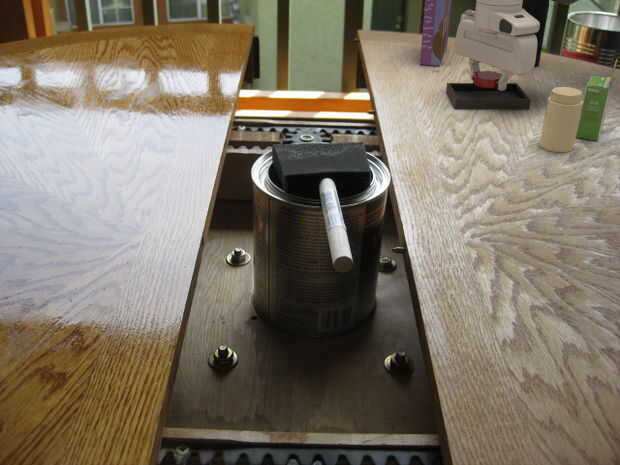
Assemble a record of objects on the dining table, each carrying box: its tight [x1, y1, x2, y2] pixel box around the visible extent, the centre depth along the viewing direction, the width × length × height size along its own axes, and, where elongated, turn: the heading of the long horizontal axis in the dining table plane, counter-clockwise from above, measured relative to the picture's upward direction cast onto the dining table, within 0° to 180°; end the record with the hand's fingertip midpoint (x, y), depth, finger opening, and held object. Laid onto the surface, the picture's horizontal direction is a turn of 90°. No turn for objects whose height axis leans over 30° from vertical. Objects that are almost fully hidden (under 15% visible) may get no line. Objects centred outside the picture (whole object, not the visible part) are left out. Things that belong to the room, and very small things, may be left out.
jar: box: [539, 86, 583, 153], centre depth 115 cm, size 6×6×10 cm
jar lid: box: [472, 70, 502, 88], centre depth 137 cm, size 6×6×2 cm
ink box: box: [576, 58, 618, 141], centre depth 119 cm, size 7×4×13 cm, turn 152°
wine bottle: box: [522, 0, 550, 68], centre depth 157 cm, size 6×6×30 cm
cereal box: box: [419, 0, 453, 67], centre depth 164 cm, size 17×5×24 cm, turn 164°
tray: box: [445, 82, 532, 110], centre depth 139 cm, size 15×11×2 cm
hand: (488, 84), depth 138 cm, fingers closed on jar lid, 6 cm apart
